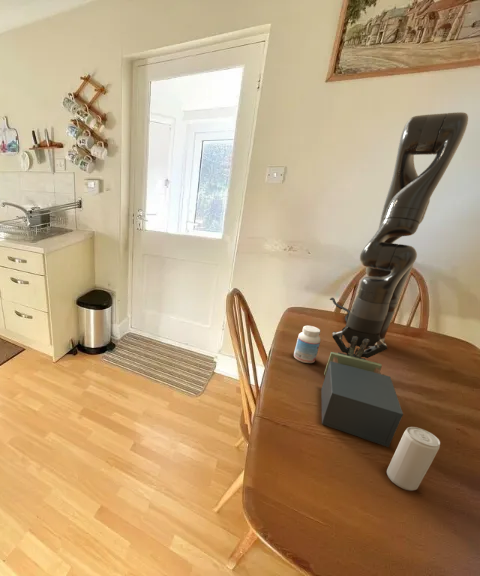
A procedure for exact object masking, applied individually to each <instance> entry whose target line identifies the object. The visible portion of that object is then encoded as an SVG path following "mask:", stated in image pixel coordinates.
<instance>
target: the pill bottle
mask: <svg viewBox="0 0 480 576" xmlns="http://www.w3.org/2000/svg"><path fill="white" fill-rule="evenodd" d="M320 335H321V329H320V328H319V327H316V326H313V325H304V326H303V327H302V331H301V332H300V333H298V336H297V340H296V343H295V347H294V351H293V357H294V358H295V360H297V361H299V362H301V363H305V364H313V363H315V361H316V360H317V356H318V351H319V348H320V346H321V345H320V344H321V341H322V339H321V337H320Z"/></svg>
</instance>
